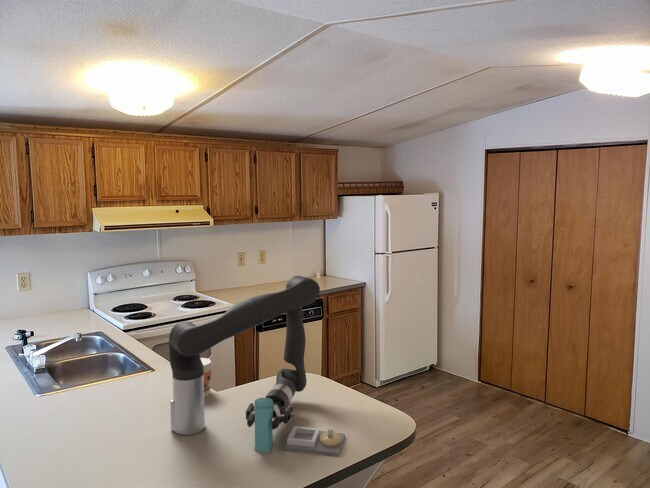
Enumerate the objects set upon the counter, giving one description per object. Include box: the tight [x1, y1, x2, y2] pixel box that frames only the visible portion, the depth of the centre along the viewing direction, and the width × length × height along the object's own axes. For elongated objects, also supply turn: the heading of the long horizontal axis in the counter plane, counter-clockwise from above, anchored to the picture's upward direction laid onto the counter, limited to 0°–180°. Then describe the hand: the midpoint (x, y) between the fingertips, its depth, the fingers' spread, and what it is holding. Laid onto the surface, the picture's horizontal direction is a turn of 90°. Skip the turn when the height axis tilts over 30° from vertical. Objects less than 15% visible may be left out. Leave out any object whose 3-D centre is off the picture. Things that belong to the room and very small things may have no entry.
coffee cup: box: [200, 357, 213, 398], centre depth 178 cm, size 9×9×12 cm
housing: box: [283, 425, 346, 457], centre depth 146 cm, size 16×11×4 cm
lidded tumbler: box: [254, 397, 274, 453], centre depth 143 cm, size 5×5×14 cm
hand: (261, 425), depth 140 cm, fingers open, 6 cm apart
